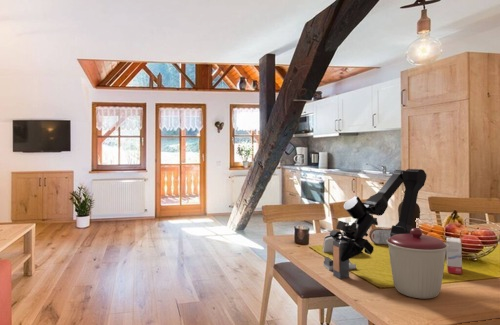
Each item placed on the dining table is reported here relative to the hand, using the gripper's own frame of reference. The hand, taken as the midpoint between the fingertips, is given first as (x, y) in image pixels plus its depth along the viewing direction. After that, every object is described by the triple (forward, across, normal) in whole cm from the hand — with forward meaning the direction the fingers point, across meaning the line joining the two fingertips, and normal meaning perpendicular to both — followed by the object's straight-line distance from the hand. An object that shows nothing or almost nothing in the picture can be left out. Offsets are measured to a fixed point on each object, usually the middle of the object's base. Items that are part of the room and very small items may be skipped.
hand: (338, 259), depth 125 cm
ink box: (-26, +14, +36) cm, 47 cm away
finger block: (+4, 0, +6) cm, 7 cm away
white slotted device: (-11, -25, +21) cm, 35 cm away
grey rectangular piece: (-1, -9, +10) cm, 13 cm away
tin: (-31, -26, +40) cm, 57 cm away
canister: (-5, +22, +14) cm, 27 cm away
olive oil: (-45, -29, +55) cm, 77 cm away
